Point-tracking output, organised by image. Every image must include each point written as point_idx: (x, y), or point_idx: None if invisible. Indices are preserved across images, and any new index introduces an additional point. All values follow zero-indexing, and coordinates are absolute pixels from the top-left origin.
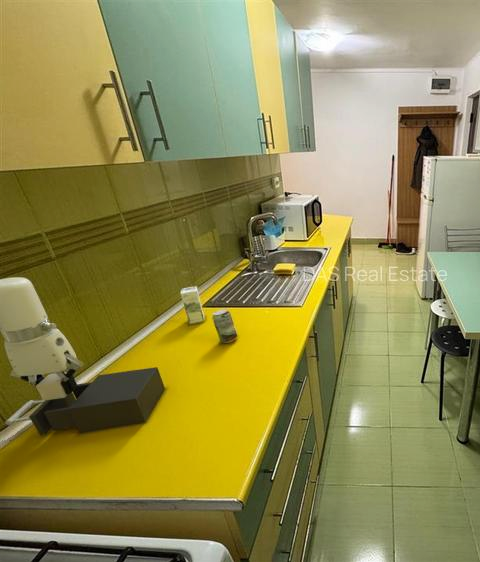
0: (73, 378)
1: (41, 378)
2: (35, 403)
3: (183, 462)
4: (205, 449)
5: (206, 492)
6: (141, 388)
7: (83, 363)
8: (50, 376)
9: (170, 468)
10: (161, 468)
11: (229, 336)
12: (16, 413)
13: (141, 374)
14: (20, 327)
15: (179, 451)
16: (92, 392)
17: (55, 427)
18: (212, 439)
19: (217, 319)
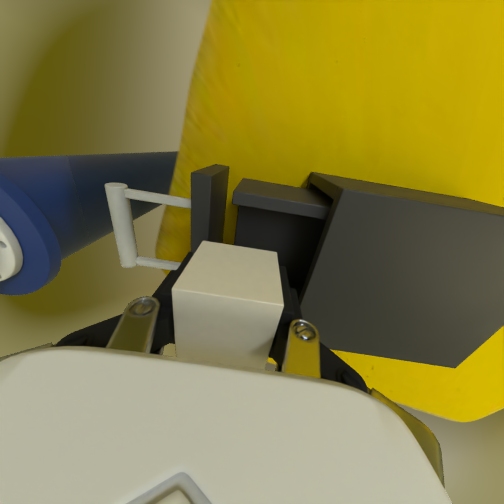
0: (300, 317)
1: (163, 328)
2: (135, 198)
3: (433, 382)
4: (467, 377)
5: (442, 413)
6: (483, 340)
7: (434, 441)
8: (195, 313)
9: (415, 383)
10: (405, 380)
11: None
12: (123, 244)
13: None
14: None
15: (433, 369)
16: (339, 302)
17: None
18: (484, 369)
19: None
